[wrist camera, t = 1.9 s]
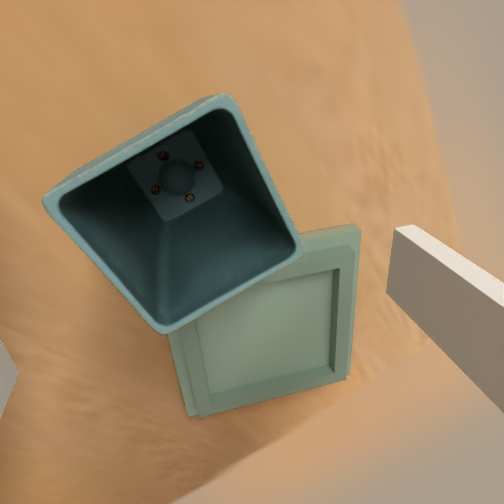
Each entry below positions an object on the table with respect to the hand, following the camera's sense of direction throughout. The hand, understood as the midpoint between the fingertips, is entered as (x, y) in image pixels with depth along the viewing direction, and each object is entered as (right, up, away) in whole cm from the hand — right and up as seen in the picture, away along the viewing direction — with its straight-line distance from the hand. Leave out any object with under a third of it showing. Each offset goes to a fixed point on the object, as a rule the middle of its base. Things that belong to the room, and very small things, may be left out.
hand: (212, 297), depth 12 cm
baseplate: (+2, -5, +20) cm, 20 cm away
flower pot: (-4, +7, +12) cm, 14 cm away
